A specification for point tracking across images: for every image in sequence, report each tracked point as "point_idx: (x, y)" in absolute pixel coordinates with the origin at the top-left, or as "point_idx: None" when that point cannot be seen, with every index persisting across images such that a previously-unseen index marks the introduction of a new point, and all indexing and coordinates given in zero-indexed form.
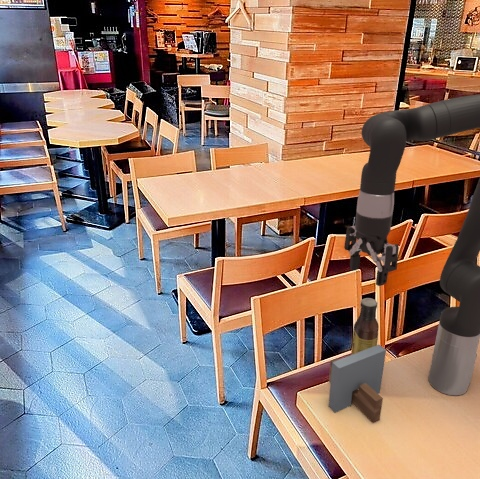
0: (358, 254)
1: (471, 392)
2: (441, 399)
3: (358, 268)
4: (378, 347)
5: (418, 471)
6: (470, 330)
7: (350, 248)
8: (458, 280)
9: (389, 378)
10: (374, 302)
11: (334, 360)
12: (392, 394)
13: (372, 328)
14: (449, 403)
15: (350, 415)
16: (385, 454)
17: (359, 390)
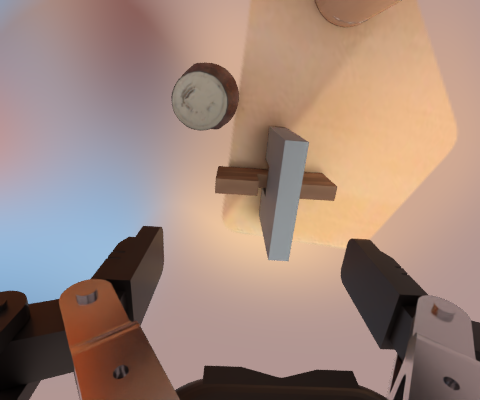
0: (122, 299)
1: None
2: (364, 42)
3: (160, 228)
4: (292, 150)
5: (404, 196)
6: None
7: (50, 372)
8: None
9: (271, 80)
10: (212, 88)
11: (218, 186)
12: (300, 111)
13: (234, 106)
14: (378, 38)
15: None
16: (361, 210)
17: None
